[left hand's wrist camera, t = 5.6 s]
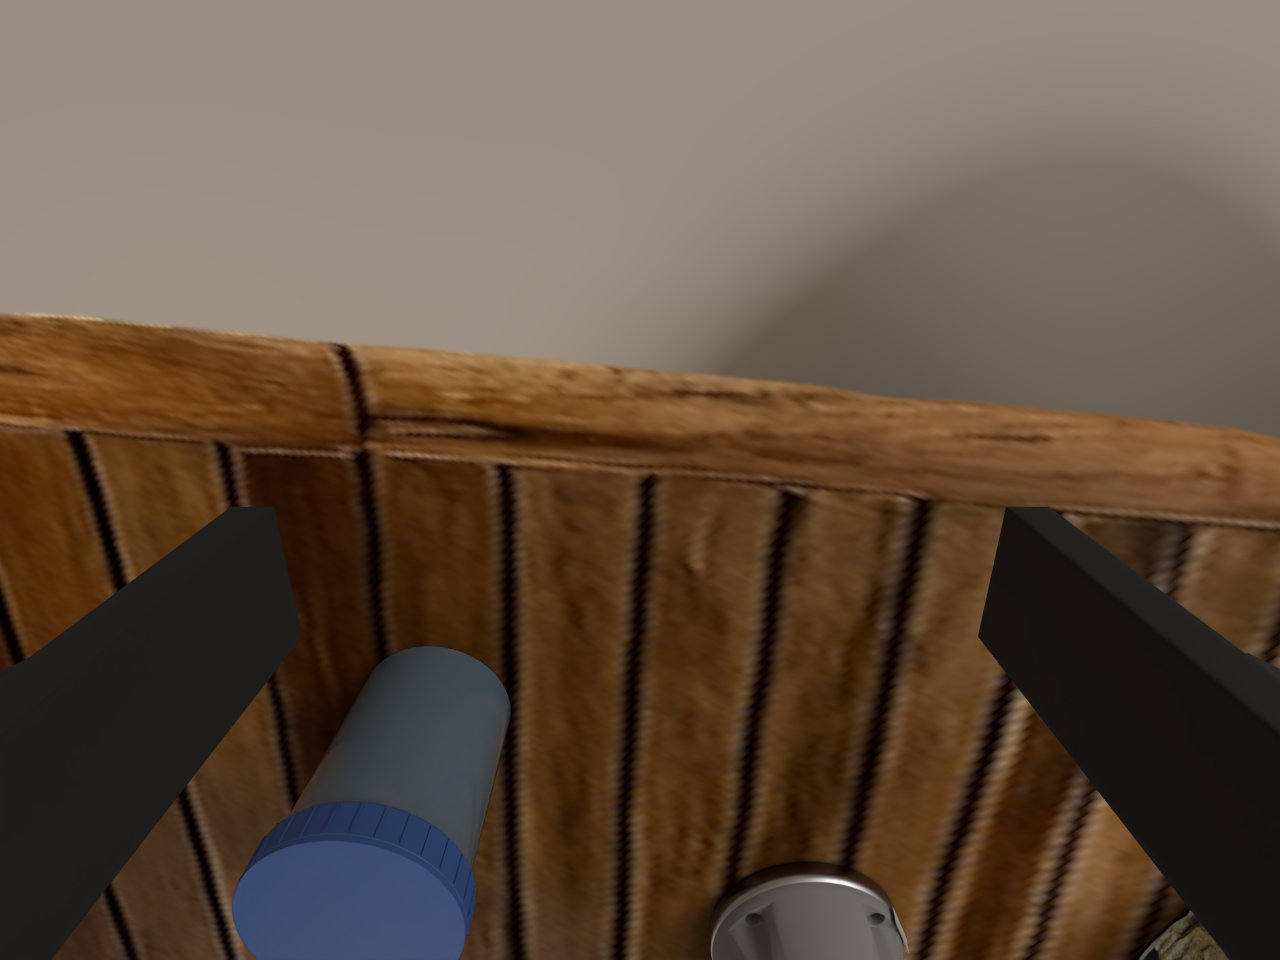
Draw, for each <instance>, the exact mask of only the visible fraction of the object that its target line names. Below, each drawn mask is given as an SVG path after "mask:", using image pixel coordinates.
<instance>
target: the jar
mask: <svg viewBox="0 0 1280 960" xmlns="http://www.w3.org/2000/svg"><path fill="white" fill-rule="evenodd" d="M510 714H511V710H510V702H509V698H508V695H507V692H506V690H505V688H504V686H503V684H502V683H501V681H500V680H499V679H498V677H497V676H496V675H495V674H494V673H493V672H492V671H491V670H490V669H489V668H488V667H487V666H486V665H484V664H483V663H482V662H480V661H478V660H477V659H475V658H474V657H472V656H469V655H467V654H465V653H463V652H460V651H457V650H454V649H449V648H445V647H436V646H422V647H414V648H409V649H405V650H402V651H399V652H397V653H395V654H393V655H391V656H389V657H387V658H386V659H384V660H383V661H382V662H380V663H379V664H378V665H377V666H376V667H375V668H374V670H373V671H372V672H371V674H370V675H369V677H368V679H367V681H366V682H365V684H364V686H363V688H362V689H361V691H360V693H359V695H358V696H357V698H356V700H355V702H354V703H353V705H352V707H351V709H350V710H349V712H348V714H347V716H346V717H345V719H344V721H343V723H342V724H341V726H340V728H339V730H338V731H337V733H336V735H335V737H334V738H333V740H332V742H331V744H330V745H329V747H328V749H327V751H326V752H325V754H324V756H323V758H322V759H321V761H320V763H319V765H318V766H317V768H316V770H315V772H314V773H313V775H312V777H311V779H310V780H309V782H308V784H307V786H306V787H305V789H304V791H303V793H302V794H301V796H300V798H299V800H298V801H297V803H296V805H295V807H294V808H293V810H292V812H291V814H290V815H289V816H291V815H293V814H294V813H297V812H299V811H301V810H304V809H307V808H310V807H313V806H317V805H322V804H326V803H335V802H366V803H374V804H379V805H384V806H389V807H392V808H396V809H399V810H402V811H405V812H407V813H410V814H412V815H415V816H417V817H419V818H421V819H423V820H425V821H427V822H428V823H430V824H432V825H433V826H435V827H436V828H438V829H439V830H440V831H442V832H443V833H444V834H445V835H446V836H448V837H449V838H450V839H451V840H452V841H453V842H454V843H455V844H456V845H457V847H458V848H459V849H460V850H461V852H462V853H463V854H464V856H465V857H466V859H467V861H468V863H469V865H470V867H471V870H472V869H473V865H474V861H475V857H476V853H477V849H478V845H479V841H480V837H481V833H482V829H483V825H484V821H485V817H486V813H487V809H488V805H489V801H490V797H491V793H492V789H493V785H494V781H495V777H496V773H497V769H498V765H499V761H500V757H501V753H502V749H503V745H504V741H505V737H506V733H507V729H508V725H509V721H510Z"/></svg>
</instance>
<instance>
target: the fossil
mask: <svg viewBox="0 0 1280 960" xmlns="http://www.w3.org/2000/svg"><path fill="white" fill-rule="evenodd" d="M1139 960H1229V959H1228V958H1227V956H1226V955H1225V954H1224V952H1223V951H1222V950H1221V949H1220V947H1219V946H1218V945H1217V943H1216V942H1215V941H1214V940H1213V938H1212V937H1211V936H1210V934H1209V933H1208V932H1207V931H1206V929H1205V928H1204V927H1203V925H1202V924H1201V923H1200V922H1199V920H1198V919H1197V918H1196V916H1195V915H1194V914H1193V913H1192V911H1191V910H1190V912H1189V913H1188V915H1187V916H1186V917H1184V918H1182V919H1180V920H1179V921H1177V922H1175V923H1174V924H1173V925H1172V926H1170V927H1169V928H1168V929H1167V930H1166V931H1165V932H1164V933H1163V934H1162V935H1161V936H1160V937H1158V938H1157V939H1156V940H1155V941H1154V942H1153V943H1152V944H1151V945H1150V946H1149V947H1148V949H1147V950H1146V951H1145V952H1144V953H1143V954H1142V956H1141V957H1140V959H1139Z"/></svg>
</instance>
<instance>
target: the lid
mask: <svg viewBox="0 0 1280 960" xmlns="http://www.w3.org/2000/svg"><path fill="white" fill-rule="evenodd" d="M475 892H476V886H475V881H474V876H473V873H472V870H471V867H470V865H469V863H468V861H467V859H466V857H465V856H464V854H463V853H462V852H461V850H460V849H459V848H458V847H457V845H456V844H455V843H454V842H453V841H452V840H451V839H450V838H449V837H448V836H446V835H445V834H444V833H443V832H442V831H440V830H439V829H438V828H436V827H435V826H433V825H432V824H430V823H428V822H427V821H425V820H423V819H421V818H419V817H417V816H415V815H412V814H410V813H407V812H405V811H402V810H399V809H396V808H392V807H389V806H384V805H379V804H374V803H366V802H335V803H326V804H322V805H317V806H313V807H310V808H307V809H304V810H301V811H299V812H297V813H294V814H293V815H291V816H289V817H287V818H286V819H284V820H283V821H281V822H280V823H277V824H276V826H275V827H274V828H273V829H272V830H271V831H270V832H269V834H268V835H267V836H264V838H263V839H262V841H261V843H260V844H259V846H258V848H257V849H256V851H255V853H254V854H253V856H252V858H251V860H250V861H249V863H248V865H247V867H246V869H245V871H244V873H243V874H242V876H241V878H240V879H239V883H238V885H237V887H236V890H235V893H234V897H233V905H232V912H233V920H234V923H235V926H236V930H237V932H238V934H239V936H240V938H241V940H242V941H243V943H244V944H245V945H246V947H247V948H248V950H249V951H250V952H251V953H252V954H253V955H254V956H255V957H256V958H257V959H258V960H458V958H459V956H460V954H461V952H462V950H463V946H464V942H465V939H466V934H468V933H469V929H470V925H471V920H472V916H473V912H474V908H475V903H476V902H474V901H475Z"/></svg>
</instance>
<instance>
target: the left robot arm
mask: <svg viewBox="0 0 1280 960" xmlns="http://www.w3.org/2000/svg"><path fill="white" fill-rule="evenodd" d="M301 637H302V634H301V630H300V625H299V621H298V616H297V611H296V607H295V602H294V598H293V593H292V588H291V584H290V579H289V574H288V570H287V565H286V561H285V556H284V551H283V547H282V542H281V538H280V533H279V528H278V524H277V519H276V515H275V510H274V507H230V508H229V509H228V510H226V511H225V512H224V513H222V514H221V515H220V516H218V517H217V518H216V519H214V520H213V521H212V522H210V523H209V524H208V525H206V526H205V527H204V528H202V529H201V530H200V531H198V532H197V533H196V534H194V535H193V536H191V537H190V538H189V539H187V540H186V541H185V542H183V543H182V544H181V545H179V546H178V547H177V548H175V549H174V550H173V551H171V552H170V553H169V554H167V555H166V556H165V557H163V558H162V559H161V560H159V561H158V562H157V563H155V564H154V565H153V566H151V567H150V568H149V569H147V570H146V571H145V572H143V573H142V574H141V575H139V576H138V577H137V578H135V579H134V580H133V581H131V582H130V583H129V584H127V585H126V586H125V587H123V588H122V589H121V590H119V591H118V592H116V593H115V594H114V595H112V596H111V597H110V598H108V599H107V600H106V601H104V602H103V603H102V604H100V605H99V606H98V607H96V608H95V609H94V610H92V611H91V612H90V613H88V614H87V615H86V616H84V617H83V618H82V619H80V620H79V621H78V622H76V623H75V624H74V625H72V626H71V627H70V628H68V629H67V630H66V631H64V632H63V633H62V634H60V635H59V636H58V637H56V638H55V639H54V640H52V641H51V642H50V643H48V644H47V645H46V646H44V647H43V648H41V649H40V650H39V651H37V652H36V653H35V654H33V655H32V656H31V657H29V658H27V659H25V660H23V661H21V662H19V663H17V664H15V665H13V666H11V667H9V668H7V669H5V670H3V671H1V672H0V960H51V959H52V958H53V956H54V955H55V954H56V952H57V951H58V950H59V949H60V947H61V946H62V945H63V943H64V942H65V941H66V940H67V938H68V937H69V936H70V934H71V933H72V932H73V931H74V929H75V928H76V927H77V925H78V924H79V923H80V922H81V920H82V919H83V918H84V916H85V915H86V914H87V913H88V911H89V910H90V909H91V907H92V906H93V905H94V904H95V902H96V901H97V900H98V898H99V897H100V896H101V895H102V893H103V892H104V891H105V889H106V888H107V887H108V886H109V884H110V883H111V882H112V880H113V879H114V878H115V877H116V875H117V874H118V873H119V871H120V870H121V869H122V868H123V866H124V865H125V864H126V862H127V861H128V860H129V859H130V857H131V856H132V855H133V853H134V852H135V851H136V850H137V848H138V847H139V846H140V844H141V843H142V842H143V840H144V839H145V838H146V837H147V835H148V834H149V833H150V831H151V830H152V829H153V828H154V826H155V825H156V824H157V822H158V821H159V820H160V819H161V817H162V816H163V815H164V813H165V812H166V811H167V810H168V808H169V807H170V806H171V804H172V803H173V802H174V801H175V799H176V798H177V797H178V795H179V794H180V793H181V792H182V790H183V789H184V788H185V786H186V785H187V784H188V783H189V781H190V780H191V779H192V777H193V776H194V775H195V774H196V772H197V771H198V770H199V768H200V767H201V766H202V765H203V763H204V762H205V761H206V759H207V758H208V757H209V756H210V754H211V753H212V752H213V750H214V749H215V748H216V747H217V745H218V744H219V743H220V741H221V740H222V739H223V738H224V736H225V735H226V734H227V732H228V731H229V730H230V729H231V727H232V726H233V725H234V723H235V722H236V721H237V720H238V718H239V717H240V716H241V714H242V713H243V712H244V711H245V709H246V708H247V707H248V705H249V704H250V703H251V702H252V700H253V699H254V698H255V696H256V695H257V694H258V693H259V691H260V690H261V689H262V687H263V686H264V685H265V684H266V682H267V681H268V680H269V678H270V677H271V676H272V675H273V673H274V672H275V671H276V669H277V668H278V667H279V665H280V664H281V663H282V662H283V660H284V659H285V658H286V656H287V655H288V654H289V653H290V651H291V650H292V649H293V647H294V646H295V645H296V644H297V642H298V641H299V640H300V638H301ZM978 637H979V638H980V640H981V641H982V642H983V644H984V645H985V646H986V647H987V649H988V650H989V651H990V653H991V654H992V655H993V656H994V658H995V659H996V660H997V662H998V663H999V664H1000V665H1001V667H1002V668H1003V669H1004V671H1005V672H1006V673H1007V675H1008V676H1009V677H1010V678H1011V680H1012V681H1013V682H1014V684H1015V685H1016V686H1017V687H1018V689H1019V690H1020V691H1021V693H1022V694H1023V695H1024V696H1025V698H1026V699H1027V700H1028V702H1029V703H1030V704H1031V705H1032V707H1033V708H1034V709H1035V711H1036V712H1037V713H1038V714H1039V716H1040V717H1041V718H1042V720H1043V721H1044V722H1045V723H1046V725H1047V726H1048V727H1049V729H1050V730H1051V731H1052V732H1053V734H1054V735H1055V736H1056V738H1057V739H1058V740H1059V741H1060V743H1061V744H1062V745H1063V747H1064V748H1065V749H1066V750H1067V752H1068V753H1069V754H1070V756H1071V757H1072V758H1073V759H1074V761H1075V762H1076V763H1077V765H1078V766H1079V767H1080V768H1081V770H1082V771H1083V772H1084V774H1085V775H1086V776H1087V777H1088V779H1089V780H1090V781H1091V783H1092V784H1093V785H1094V786H1095V788H1096V789H1097V790H1098V792H1099V793H1100V794H1101V795H1102V797H1103V798H1104V799H1105V801H1106V802H1107V803H1108V804H1109V806H1110V807H1111V808H1112V810H1113V811H1114V812H1115V813H1116V815H1117V816H1118V817H1119V819H1120V820H1121V821H1122V822H1123V824H1124V825H1125V826H1126V828H1127V829H1128V830H1129V831H1130V833H1131V834H1132V835H1133V837H1134V838H1135V839H1136V840H1137V842H1138V843H1139V844H1140V846H1141V847H1142V848H1143V850H1144V851H1145V852H1146V853H1147V855H1148V856H1149V857H1150V859H1151V860H1152V861H1153V862H1154V864H1155V865H1156V866H1157V868H1158V869H1159V870H1160V871H1161V873H1162V874H1163V875H1164V877H1165V878H1166V879H1167V880H1168V882H1169V883H1170V884H1171V886H1172V887H1173V888H1174V889H1175V891H1176V892H1177V893H1178V895H1179V896H1180V897H1181V898H1182V900H1183V901H1184V902H1185V904H1186V905H1187V906H1188V907H1189V909H1190V910H1191V911H1192V913H1193V914H1194V915H1195V916H1196V918H1197V919H1198V920H1199V922H1200V923H1201V924H1202V925H1203V927H1204V928H1205V929H1206V931H1207V932H1208V933H1209V934H1210V936H1211V937H1212V938H1213V940H1214V941H1215V942H1216V943H1217V945H1218V946H1219V947H1220V949H1221V950H1222V951H1223V952H1224V954H1225V955H1226V956H1227V958H1228V959H1229V960H1280V669H1279V668H1277V667H1275V666H1273V665H1271V664H1269V663H1267V662H1265V661H1263V660H1261V659H1259V658H1257V657H1255V656H1253V655H1251V654H1245V653H1244V652H1243V651H1241V650H1240V649H1239V648H1237V647H1236V646H1234V645H1233V644H1232V643H1230V642H1229V641H1228V640H1226V639H1225V638H1224V637H1222V636H1221V635H1220V634H1218V633H1217V632H1216V631H1214V630H1213V629H1212V628H1210V627H1209V626H1208V625H1206V624H1205V623H1204V622H1202V621H1201V620H1200V619H1198V618H1197V617H1196V616H1194V615H1193V614H1192V613H1190V612H1189V611H1188V610H1186V609H1185V608H1184V607H1182V606H1181V605H1180V604H1178V603H1177V602H1176V601H1174V600H1173V599H1172V598H1170V597H1169V596H1168V595H1166V594H1165V593H1164V592H1162V591H1161V590H1159V589H1158V588H1157V587H1155V586H1154V585H1153V584H1151V583H1150V582H1149V581H1147V580H1146V579H1145V578H1143V577H1142V576H1141V575H1139V574H1138V573H1137V572H1135V571H1134V570H1133V569H1131V568H1130V567H1129V566H1127V565H1126V564H1125V563H1123V562H1122V561H1121V560H1119V559H1118V558H1117V557H1115V556H1114V555H1113V554H1111V553H1110V552H1109V551H1107V550H1106V549H1105V548H1103V547H1102V546H1101V545H1099V544H1098V543H1097V542H1095V541H1094V540H1093V539H1091V538H1090V537H1089V536H1087V535H1086V534H1084V533H1083V532H1082V531H1080V530H1079V529H1078V528H1076V527H1075V526H1074V525H1072V524H1071V523H1070V522H1068V521H1067V520H1066V519H1064V518H1063V517H1062V516H1060V515H1059V514H1058V513H1056V512H1055V511H1054V510H1052V509H1051V508H1050V507H1006V510H1005V515H1004V519H1003V524H1002V528H1001V533H1000V538H999V542H998V547H997V551H996V556H995V561H994V565H993V570H992V574H991V579H990V584H989V588H988V593H987V598H986V602H985V607H984V611H983V616H982V621H981V625H980V630H979V634H978ZM709 934H710V946H711V956H712V960H904V955H903V941H904V943H905V945H906V947H907V950H908V945H907V940H906V936H905V934H904V931H903V929H902V927H901V924H900V922H899V920H898V917H897V915H896V913H895V910H894V907H893V905H892V902H891V900H890V898H889V897H888V895H887V894H886V893H885V891H884V890H883V889H882V888H881V887H880V886H879V885H878V884H877V883H875V882H874V881H873V880H871V879H870V878H868V877H866V876H865V875H863V874H861V873H859V872H857V871H854V870H851V869H849V868H845V867H842V866H837V865H832V864H825V863H796V864H789V865H783V866H779V867H775V868H771V869H768V870H765V871H762V872H760V873H758V874H755V875H753V876H751V877H749V878H747V879H746V880H744V881H742V882H741V883H739V884H738V885H737V886H735V887H734V888H733V889H732V890H730V891H729V892H728V893H727V894H726V895H725V896H724V898H723V899H722V900H721V901H720V903H719V904H718V906H717V907H716V909H715V911H714V913H713V916H712V918H711V922H710V929H709ZM902 938H903V940H902ZM908 952H909V950H908Z"/></svg>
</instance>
